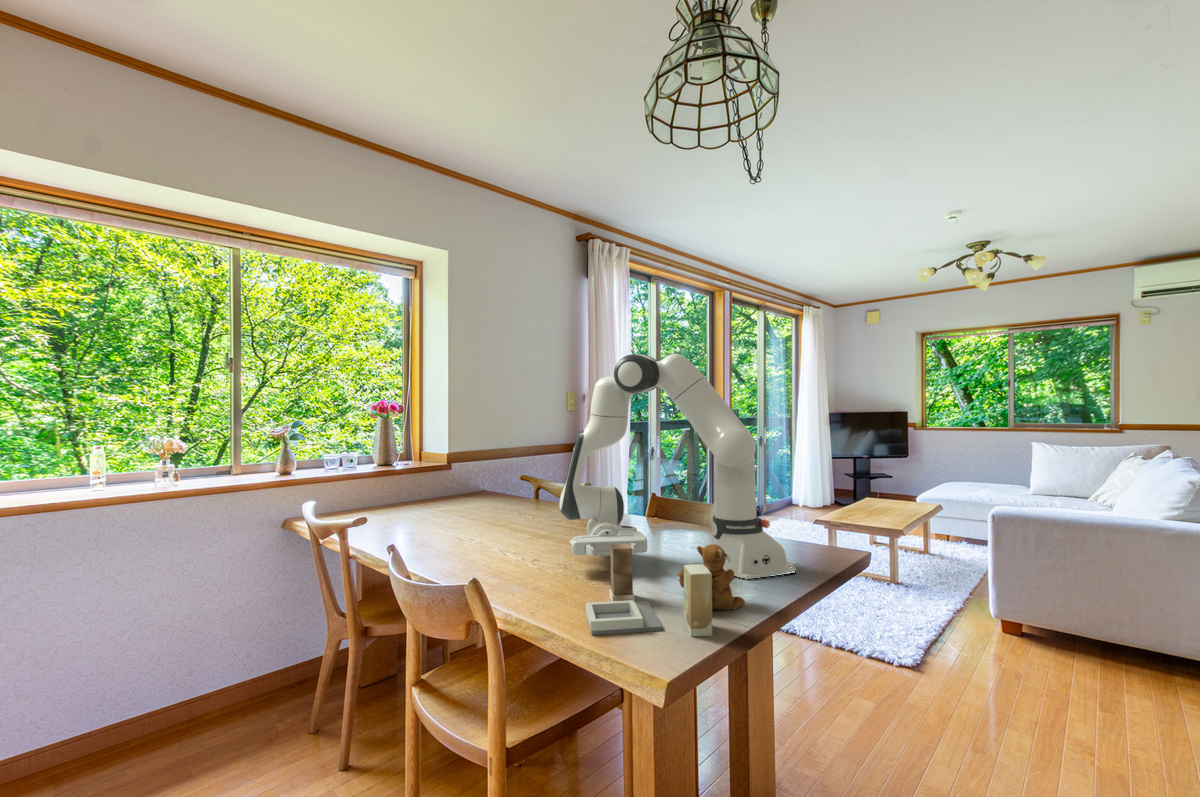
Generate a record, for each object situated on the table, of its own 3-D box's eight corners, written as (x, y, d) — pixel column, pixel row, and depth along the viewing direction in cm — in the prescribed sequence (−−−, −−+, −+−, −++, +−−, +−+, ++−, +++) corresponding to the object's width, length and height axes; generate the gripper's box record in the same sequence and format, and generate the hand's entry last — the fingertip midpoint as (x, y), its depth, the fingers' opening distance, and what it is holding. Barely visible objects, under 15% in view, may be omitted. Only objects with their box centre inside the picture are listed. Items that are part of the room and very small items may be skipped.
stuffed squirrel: (748, 605, 120) (747, 545, 120) (706, 621, 111) (705, 557, 111) (712, 593, 128) (711, 537, 128) (671, 608, 119) (670, 548, 119)
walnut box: (630, 594, 128) (629, 543, 128) (634, 601, 123) (633, 548, 123) (609, 595, 128) (608, 544, 128) (612, 603, 123) (611, 549, 123)
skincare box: (683, 624, 110) (682, 563, 110) (704, 623, 110) (703, 563, 110) (690, 637, 104) (689, 573, 104) (713, 636, 104) (712, 572, 104)
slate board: (647, 604, 121) (647, 593, 121) (662, 630, 107) (661, 617, 107) (584, 608, 119) (584, 596, 119) (590, 635, 105) (590, 621, 105)
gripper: (568, 528, 150) (572, 541, 136) (641, 526, 153) (651, 538, 139) (568, 551, 150) (572, 566, 136) (641, 549, 152) (651, 563, 139)
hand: (613, 552), depth 138 cm, fingers open, 8 cm apart
